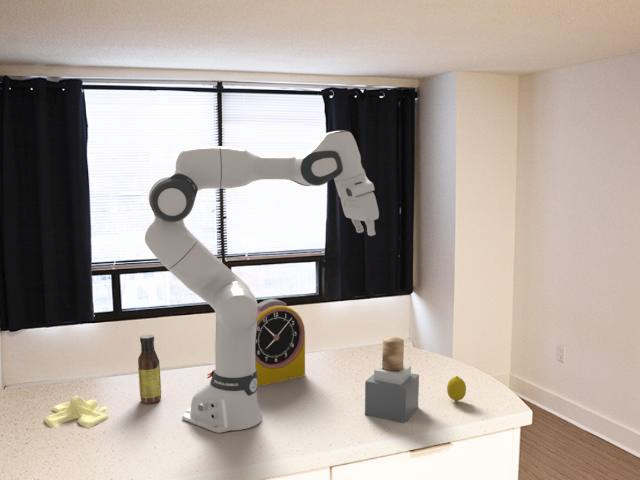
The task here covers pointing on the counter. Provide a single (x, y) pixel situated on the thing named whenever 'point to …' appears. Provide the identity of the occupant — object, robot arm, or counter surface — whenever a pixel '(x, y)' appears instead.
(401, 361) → the stopper
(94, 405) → the pale yellow lumpy piece
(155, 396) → the sauce bottle
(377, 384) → the grey box with opening
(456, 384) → the lemon
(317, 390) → the counter surface
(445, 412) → the counter surface
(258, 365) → the alarm clock
